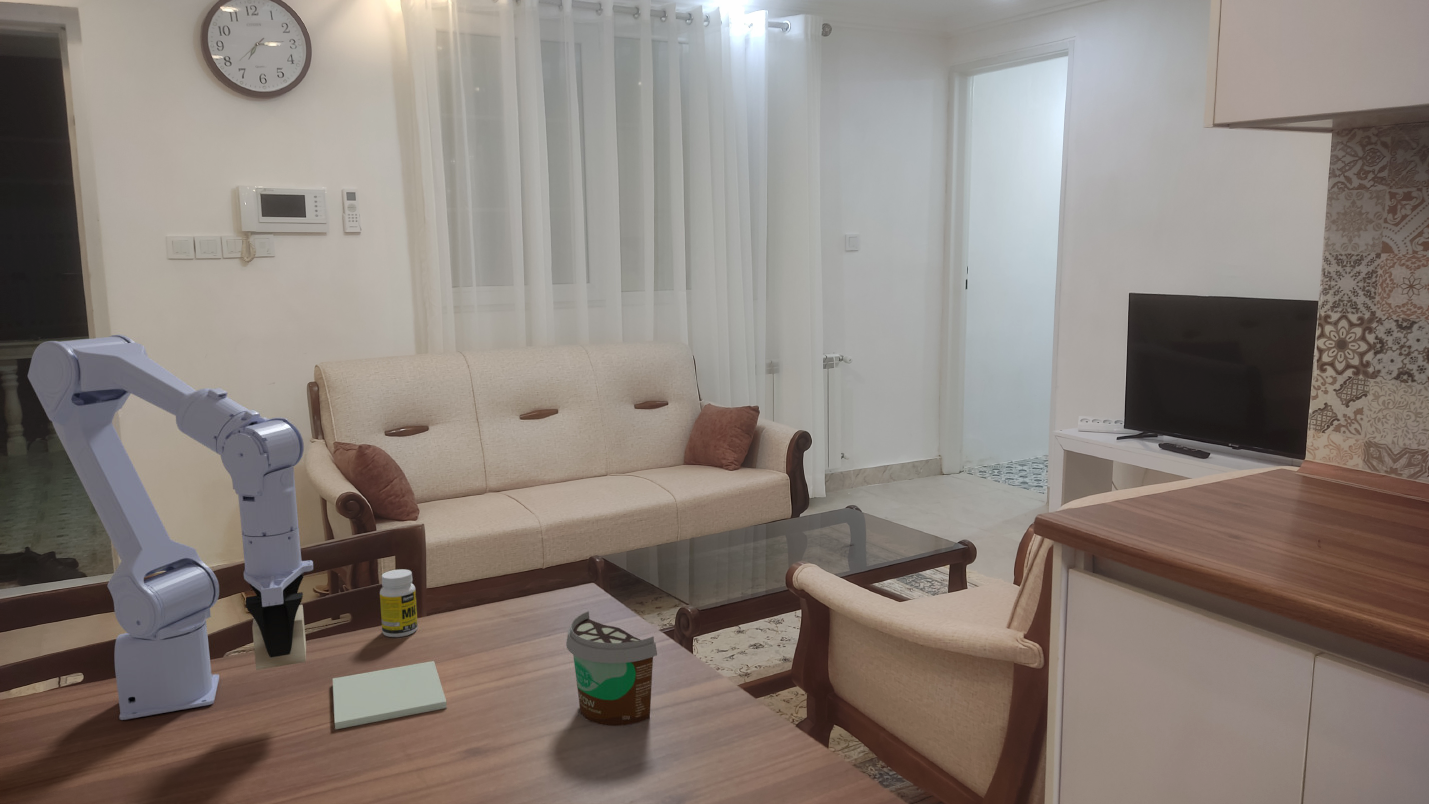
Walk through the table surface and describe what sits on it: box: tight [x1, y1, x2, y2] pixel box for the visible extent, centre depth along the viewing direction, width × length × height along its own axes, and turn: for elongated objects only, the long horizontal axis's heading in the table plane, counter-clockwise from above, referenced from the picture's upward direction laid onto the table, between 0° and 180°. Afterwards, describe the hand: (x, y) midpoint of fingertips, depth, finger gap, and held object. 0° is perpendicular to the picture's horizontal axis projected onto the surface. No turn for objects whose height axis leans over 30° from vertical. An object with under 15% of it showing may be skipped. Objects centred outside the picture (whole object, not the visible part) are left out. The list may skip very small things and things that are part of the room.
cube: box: [251, 604, 307, 671], centre depth 105 cm, size 5×5×5 cm
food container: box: [565, 610, 658, 727], centre depth 105 cm, size 12×6×10 cm, turn 47°
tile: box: [332, 660, 448, 730], centre depth 111 cm, size 12×12×1 cm
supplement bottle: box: [379, 568, 419, 638], centre depth 129 cm, size 5×5×8 cm
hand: (280, 645), depth 105 cm, fingers closed on cube, 5 cm apart
